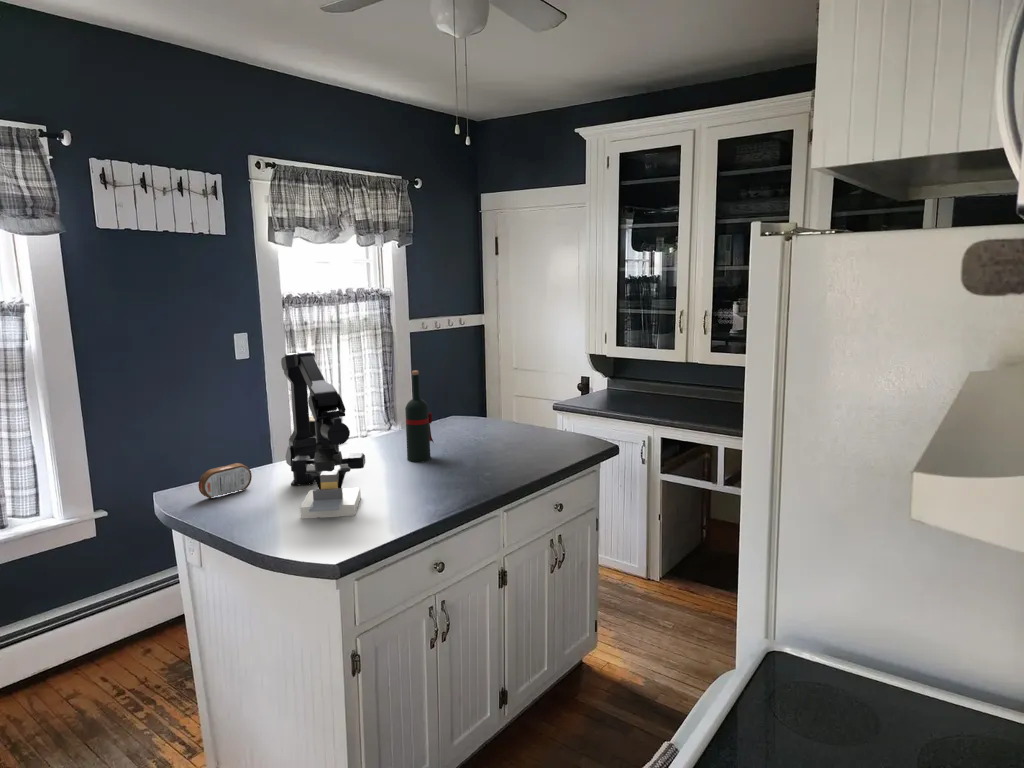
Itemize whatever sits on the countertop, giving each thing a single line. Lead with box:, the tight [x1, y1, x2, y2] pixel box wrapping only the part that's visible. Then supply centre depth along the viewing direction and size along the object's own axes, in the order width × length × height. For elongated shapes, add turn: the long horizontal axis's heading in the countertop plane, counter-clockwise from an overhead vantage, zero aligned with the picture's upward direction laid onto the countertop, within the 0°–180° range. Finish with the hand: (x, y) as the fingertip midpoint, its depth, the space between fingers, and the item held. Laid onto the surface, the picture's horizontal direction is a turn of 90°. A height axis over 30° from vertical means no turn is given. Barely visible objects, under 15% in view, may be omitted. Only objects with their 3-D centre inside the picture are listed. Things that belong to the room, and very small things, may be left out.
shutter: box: [309, 488, 343, 512], centre depth 175 cm, size 7×7×3 cm
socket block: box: [299, 487, 362, 519], centre depth 183 cm, size 14×14×3 cm
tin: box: [197, 462, 253, 499], centre depth 195 cm, size 15×3×8 cm, turn 141°
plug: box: [320, 469, 339, 489], centre depth 182 cm, size 4×4×9 cm
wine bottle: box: [405, 370, 434, 463], centre depth 226 cm, size 8×10×30 cm
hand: (330, 492), depth 182 cm, fingers closed on plug, 4 cm apart
